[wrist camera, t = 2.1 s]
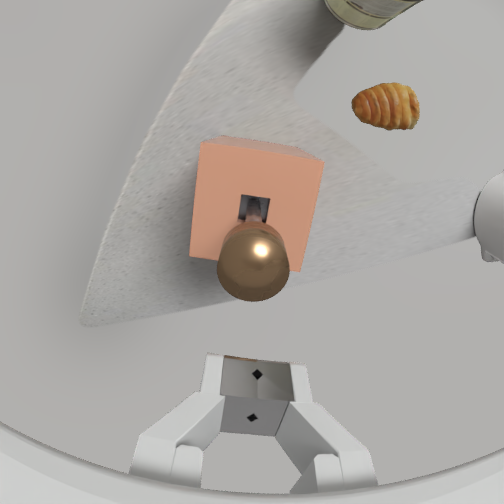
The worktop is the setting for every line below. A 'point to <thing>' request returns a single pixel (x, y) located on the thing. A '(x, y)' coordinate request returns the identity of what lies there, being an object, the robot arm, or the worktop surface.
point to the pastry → (387, 106)
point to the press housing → (254, 192)
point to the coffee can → (368, 11)
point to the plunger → (253, 254)
